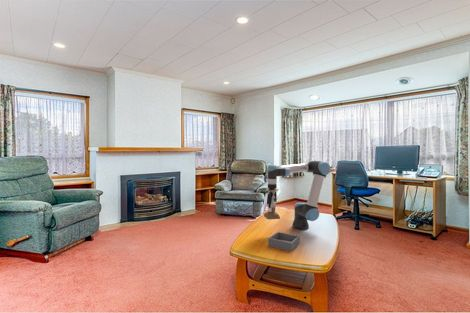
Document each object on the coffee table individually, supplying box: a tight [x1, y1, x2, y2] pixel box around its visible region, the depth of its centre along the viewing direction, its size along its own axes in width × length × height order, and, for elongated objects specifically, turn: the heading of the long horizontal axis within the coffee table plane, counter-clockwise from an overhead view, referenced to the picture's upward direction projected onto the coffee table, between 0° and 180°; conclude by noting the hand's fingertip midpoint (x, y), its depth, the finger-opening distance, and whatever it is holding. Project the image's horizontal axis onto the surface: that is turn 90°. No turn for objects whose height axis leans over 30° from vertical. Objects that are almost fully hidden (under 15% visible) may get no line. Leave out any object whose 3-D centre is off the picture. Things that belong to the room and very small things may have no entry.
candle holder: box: [263, 188, 281, 220], centre depth 214 cm, size 11×11×24 cm
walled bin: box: [267, 231, 301, 252], centre depth 195 cm, size 18×18×6 cm
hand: (271, 210), depth 214 cm, fingers closed on candle holder, 7 cm apart
